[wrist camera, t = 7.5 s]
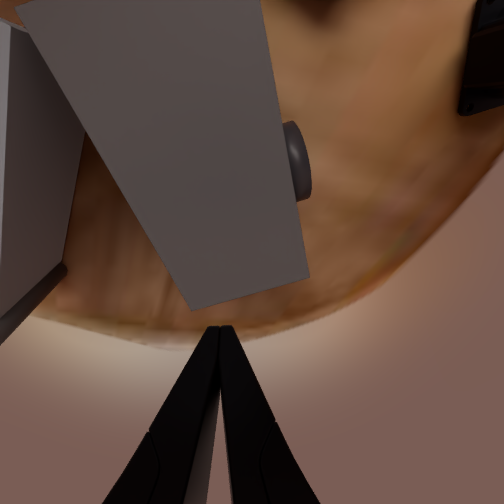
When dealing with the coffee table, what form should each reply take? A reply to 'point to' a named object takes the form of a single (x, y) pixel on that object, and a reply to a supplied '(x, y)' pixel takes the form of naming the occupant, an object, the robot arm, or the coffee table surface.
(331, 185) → the coffee table surface
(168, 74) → the block
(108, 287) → the coffee table surface
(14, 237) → the side door
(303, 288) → the coffee table surface
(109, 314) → the coffee table surface
